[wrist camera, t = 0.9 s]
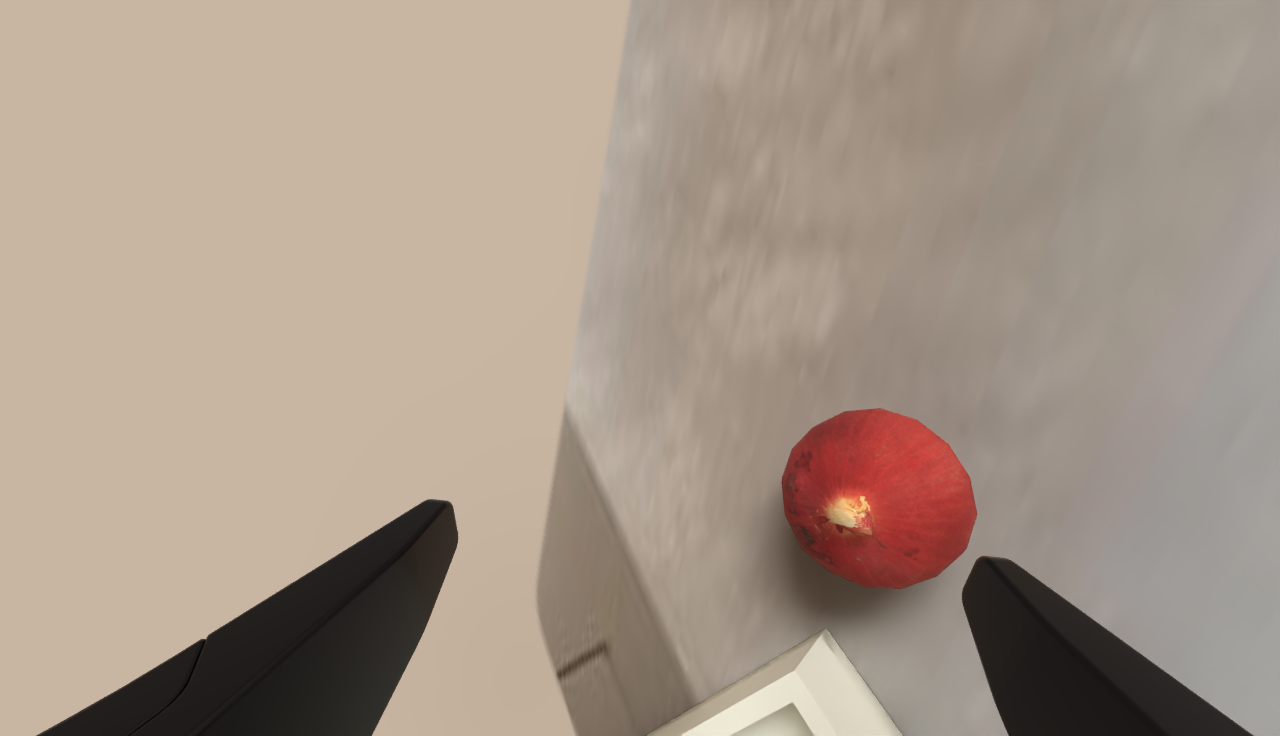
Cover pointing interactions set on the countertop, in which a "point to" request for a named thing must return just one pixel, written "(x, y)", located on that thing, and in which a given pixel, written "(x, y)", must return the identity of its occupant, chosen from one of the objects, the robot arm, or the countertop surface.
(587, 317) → the countertop surface
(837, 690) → the bin
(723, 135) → the countertop surface
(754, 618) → the countertop surface
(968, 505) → the onion
